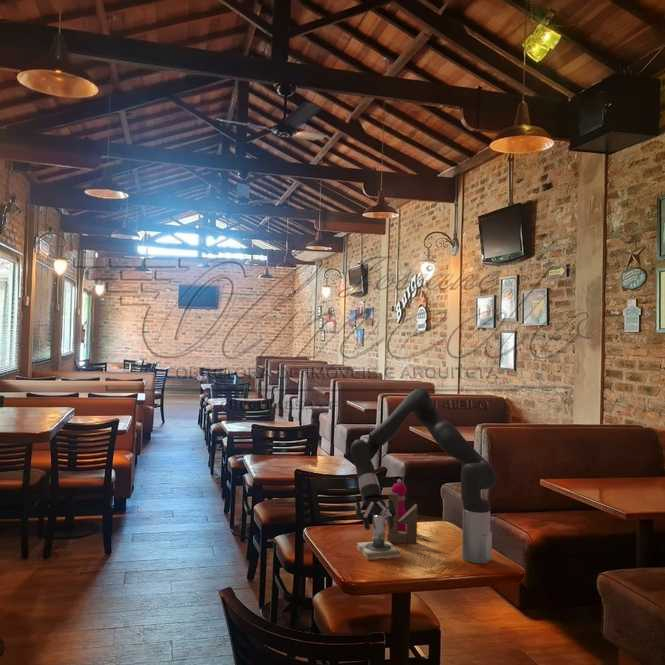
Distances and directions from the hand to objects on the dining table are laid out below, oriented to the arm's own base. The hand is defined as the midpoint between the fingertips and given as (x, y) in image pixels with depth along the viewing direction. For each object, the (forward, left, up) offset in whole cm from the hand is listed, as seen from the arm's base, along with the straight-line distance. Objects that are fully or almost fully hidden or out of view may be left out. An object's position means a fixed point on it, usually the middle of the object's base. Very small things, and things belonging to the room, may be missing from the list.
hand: (379, 528), depth 209 cm
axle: (+1, -1, -7) cm, 7 cm away
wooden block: (0, -17, -9) cm, 19 cm away
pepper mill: (+9, -31, -9) cm, 33 cm away
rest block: (+1, -1, -9) cm, 9 cm away
